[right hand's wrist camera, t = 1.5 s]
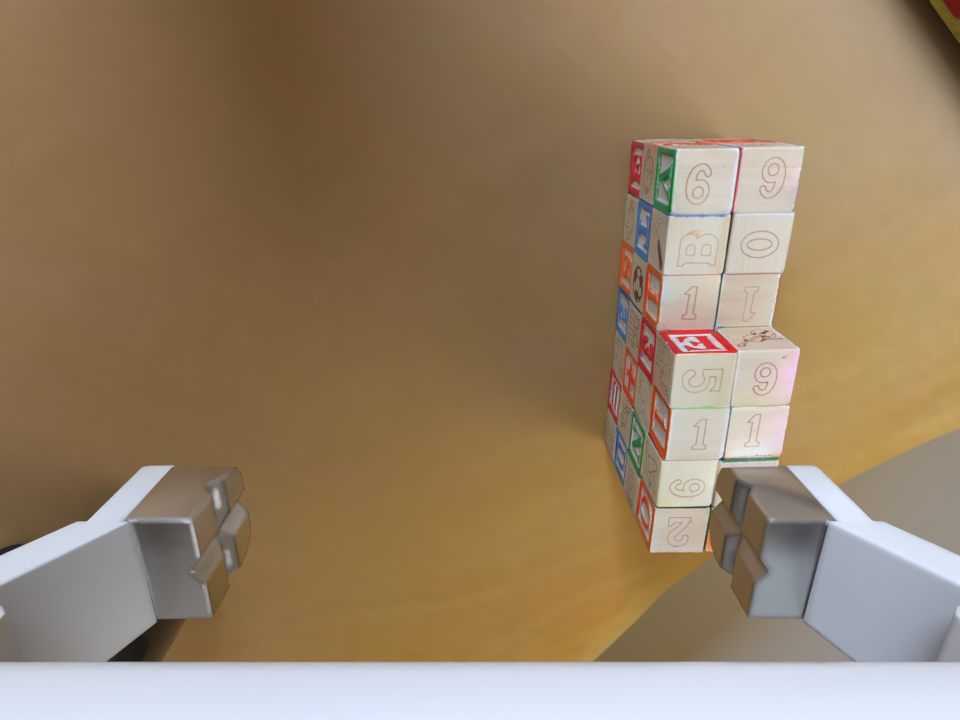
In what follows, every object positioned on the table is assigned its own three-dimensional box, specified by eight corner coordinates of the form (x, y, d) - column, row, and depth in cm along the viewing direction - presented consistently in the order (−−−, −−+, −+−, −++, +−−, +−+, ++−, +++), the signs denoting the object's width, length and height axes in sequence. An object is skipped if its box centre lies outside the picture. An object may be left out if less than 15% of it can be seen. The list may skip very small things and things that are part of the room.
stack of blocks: (628, 137, 36) (700, 148, 25) (731, 136, 36) (850, 147, 25) (603, 443, 44) (648, 557, 33) (687, 441, 44) (761, 555, 33)
